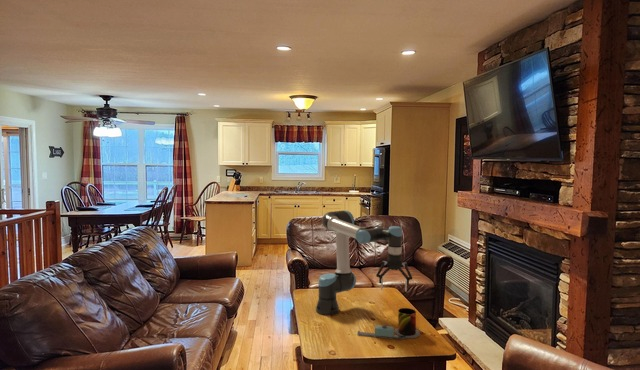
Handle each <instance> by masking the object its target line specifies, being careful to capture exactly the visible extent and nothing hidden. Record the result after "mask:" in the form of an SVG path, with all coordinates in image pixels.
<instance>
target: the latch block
mask: <svg viewBox="0 0 640 370" xmlns="http://www.w3.org/2000/svg"><path fill="white" fill-rule="evenodd" d="M394 328H395V326H390V325H389V326H388V325H387V324H382V325H377V324H375V326H374V333H375V335H377V336H387V337H393V336H394V335H395V329H394Z"/></svg>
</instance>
